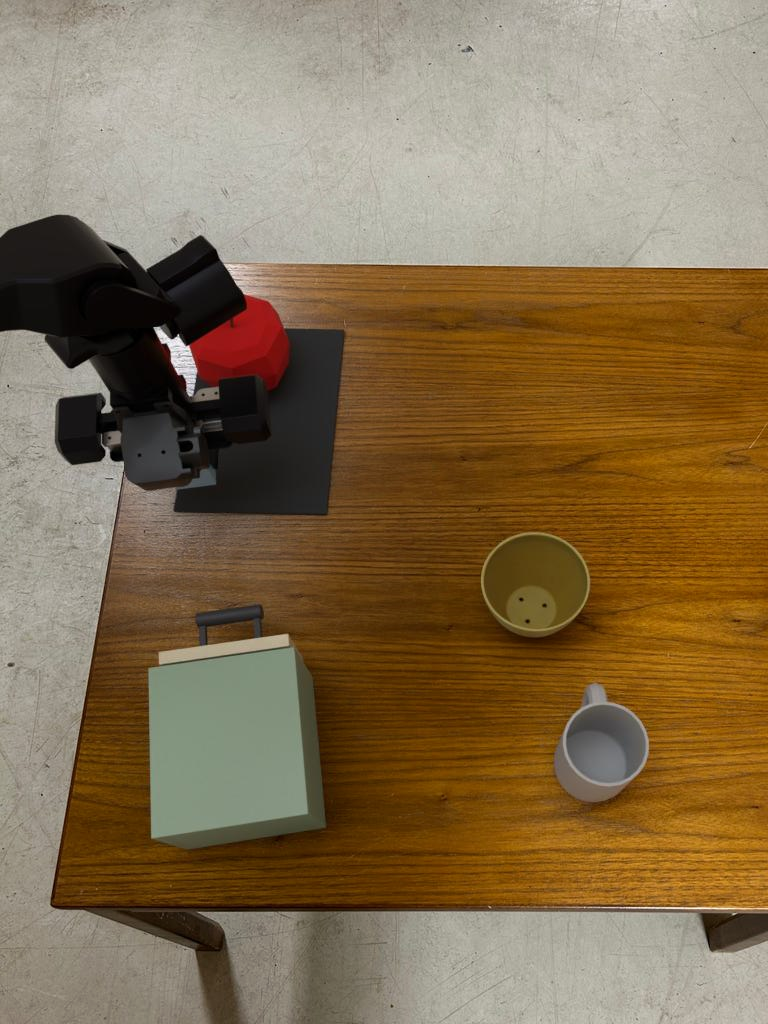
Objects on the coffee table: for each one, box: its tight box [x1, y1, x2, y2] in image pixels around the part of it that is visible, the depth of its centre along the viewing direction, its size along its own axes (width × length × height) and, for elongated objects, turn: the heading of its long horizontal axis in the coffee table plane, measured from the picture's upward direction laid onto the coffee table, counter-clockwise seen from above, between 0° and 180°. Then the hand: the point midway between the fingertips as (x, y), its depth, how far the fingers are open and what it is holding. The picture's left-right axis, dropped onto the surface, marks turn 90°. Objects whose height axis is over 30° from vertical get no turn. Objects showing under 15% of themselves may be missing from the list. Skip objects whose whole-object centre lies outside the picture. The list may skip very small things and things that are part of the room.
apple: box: [188, 293, 289, 390], centre depth 85 cm, size 11×11×10 cm
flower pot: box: [480, 531, 591, 638], centre depth 77 cm, size 10×10×7 cm
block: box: [174, 429, 216, 491], centre depth 80 cm, size 4×4×4 cm
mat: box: [173, 327, 345, 516], centre depth 88 cm, size 16×24×1 cm, turn 179°
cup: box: [553, 682, 650, 803], centre depth 72 cm, size 7×10×9 cm
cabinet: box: [147, 647, 327, 851], centre depth 71 cm, size 15×13×9 cm
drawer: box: [158, 604, 304, 666], centre depth 73 cm, size 18×11×7 cm, turn 9°
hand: (194, 468), depth 82 cm, fingers closed on block, 4 cm apart
